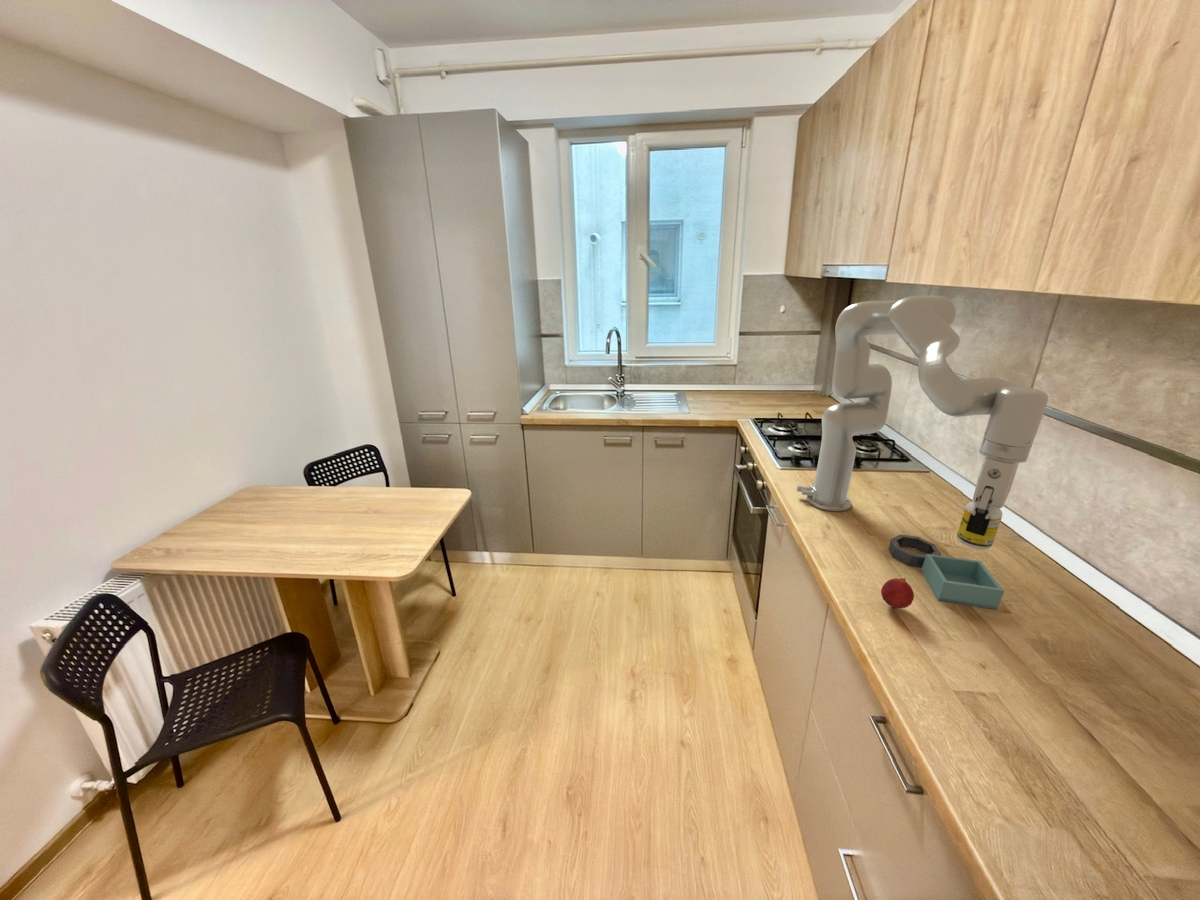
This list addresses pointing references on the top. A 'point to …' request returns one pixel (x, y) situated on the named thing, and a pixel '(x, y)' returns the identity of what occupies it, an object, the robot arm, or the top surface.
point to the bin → (961, 581)
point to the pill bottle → (975, 539)
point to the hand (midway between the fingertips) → (978, 526)
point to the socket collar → (914, 543)
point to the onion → (897, 593)
